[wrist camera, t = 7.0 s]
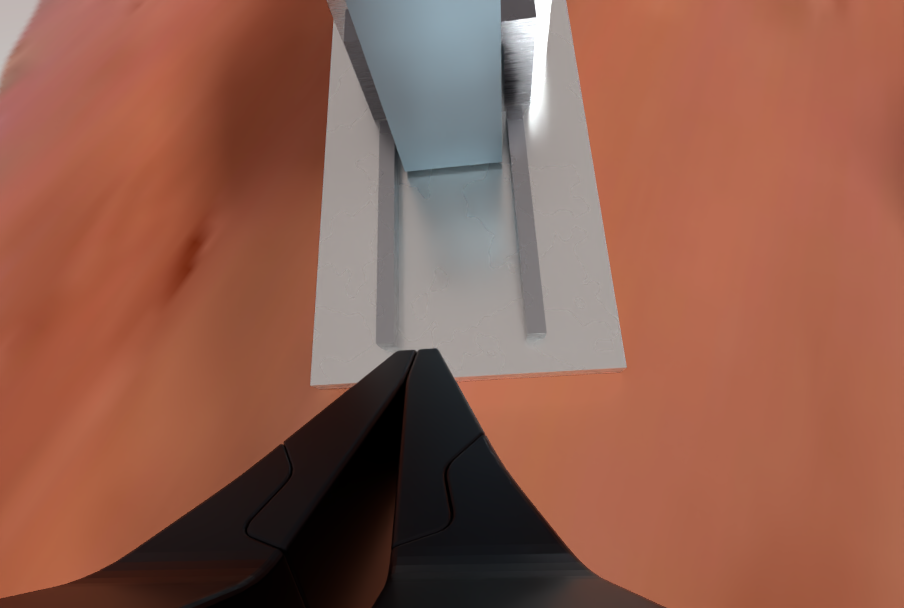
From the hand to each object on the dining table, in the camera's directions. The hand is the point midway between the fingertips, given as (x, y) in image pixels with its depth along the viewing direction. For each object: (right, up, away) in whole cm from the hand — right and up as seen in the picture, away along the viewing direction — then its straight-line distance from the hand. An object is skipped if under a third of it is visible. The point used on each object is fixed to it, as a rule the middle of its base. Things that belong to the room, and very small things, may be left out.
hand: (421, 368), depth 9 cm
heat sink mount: (+1, +9, +16) cm, 18 cm away
